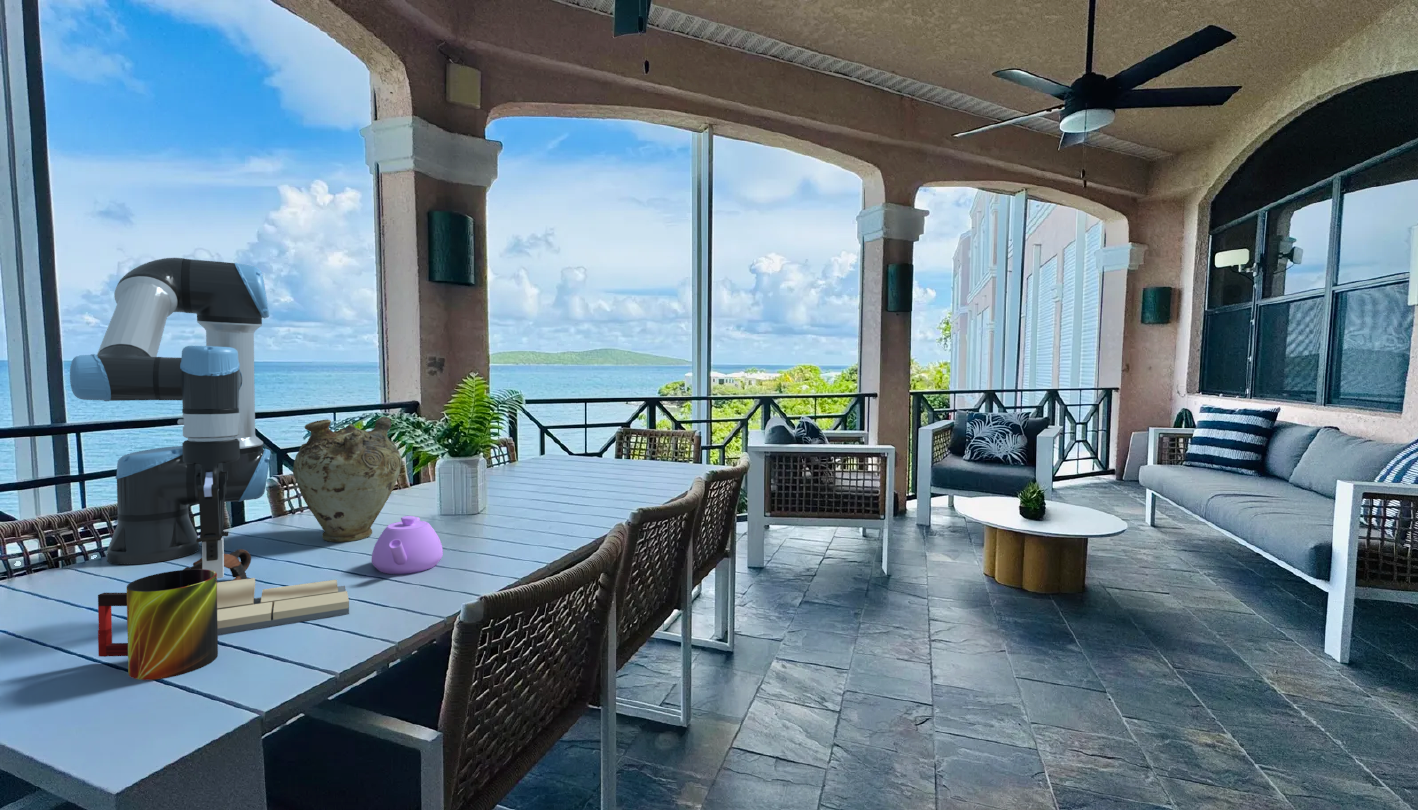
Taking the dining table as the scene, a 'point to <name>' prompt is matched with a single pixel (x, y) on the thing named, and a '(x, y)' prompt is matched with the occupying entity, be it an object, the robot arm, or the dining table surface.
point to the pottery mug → (232, 563)
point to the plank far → (298, 591)
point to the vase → (347, 477)
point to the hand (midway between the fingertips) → (213, 577)
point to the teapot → (407, 547)
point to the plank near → (235, 593)
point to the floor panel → (282, 612)
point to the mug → (164, 623)
